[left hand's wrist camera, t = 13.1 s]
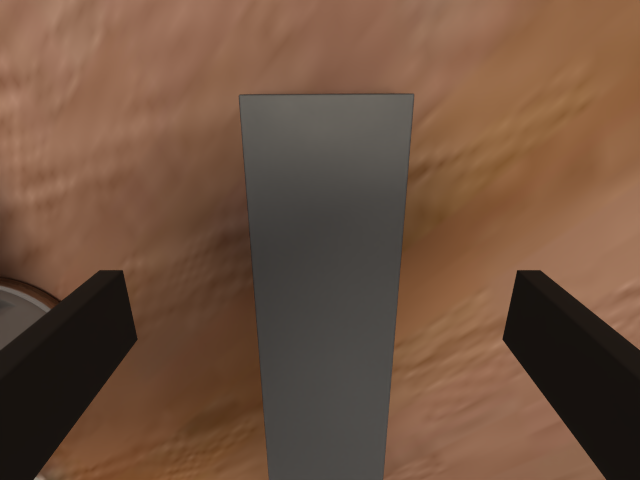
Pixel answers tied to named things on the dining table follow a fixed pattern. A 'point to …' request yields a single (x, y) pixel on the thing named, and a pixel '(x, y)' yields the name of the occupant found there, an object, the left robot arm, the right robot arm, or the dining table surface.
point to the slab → (326, 273)
